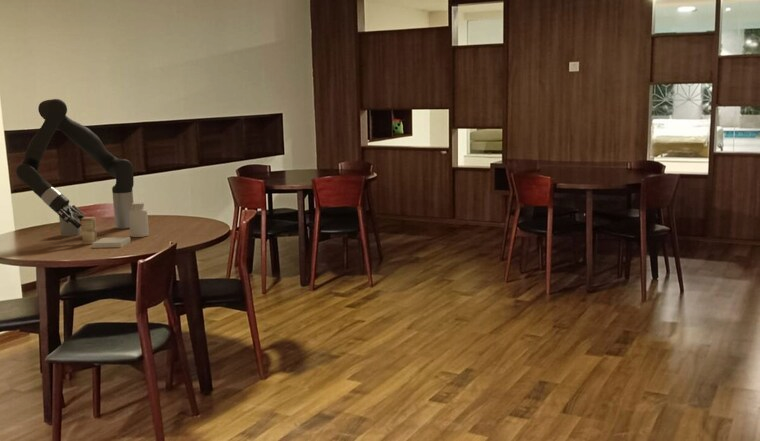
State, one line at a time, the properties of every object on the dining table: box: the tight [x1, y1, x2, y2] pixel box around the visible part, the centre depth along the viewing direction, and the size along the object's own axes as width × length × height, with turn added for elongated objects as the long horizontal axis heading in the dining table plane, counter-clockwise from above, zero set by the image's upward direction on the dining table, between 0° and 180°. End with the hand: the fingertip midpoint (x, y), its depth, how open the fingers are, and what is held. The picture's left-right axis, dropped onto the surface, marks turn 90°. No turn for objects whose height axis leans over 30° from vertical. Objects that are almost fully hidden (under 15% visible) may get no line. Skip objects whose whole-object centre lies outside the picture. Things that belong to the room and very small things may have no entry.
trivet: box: [92, 236, 132, 249], centre depth 323 cm, size 12×12×2 cm
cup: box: [58, 215, 82, 237], centre depth 350 cm, size 8×8×10 cm
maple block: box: [80, 216, 98, 245], centre depth 328 cm, size 4×4×11 cm
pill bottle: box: [129, 202, 150, 238], centre depth 341 cm, size 8×8×15 cm
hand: (83, 225), depth 328 cm, fingers open, 8 cm apart
